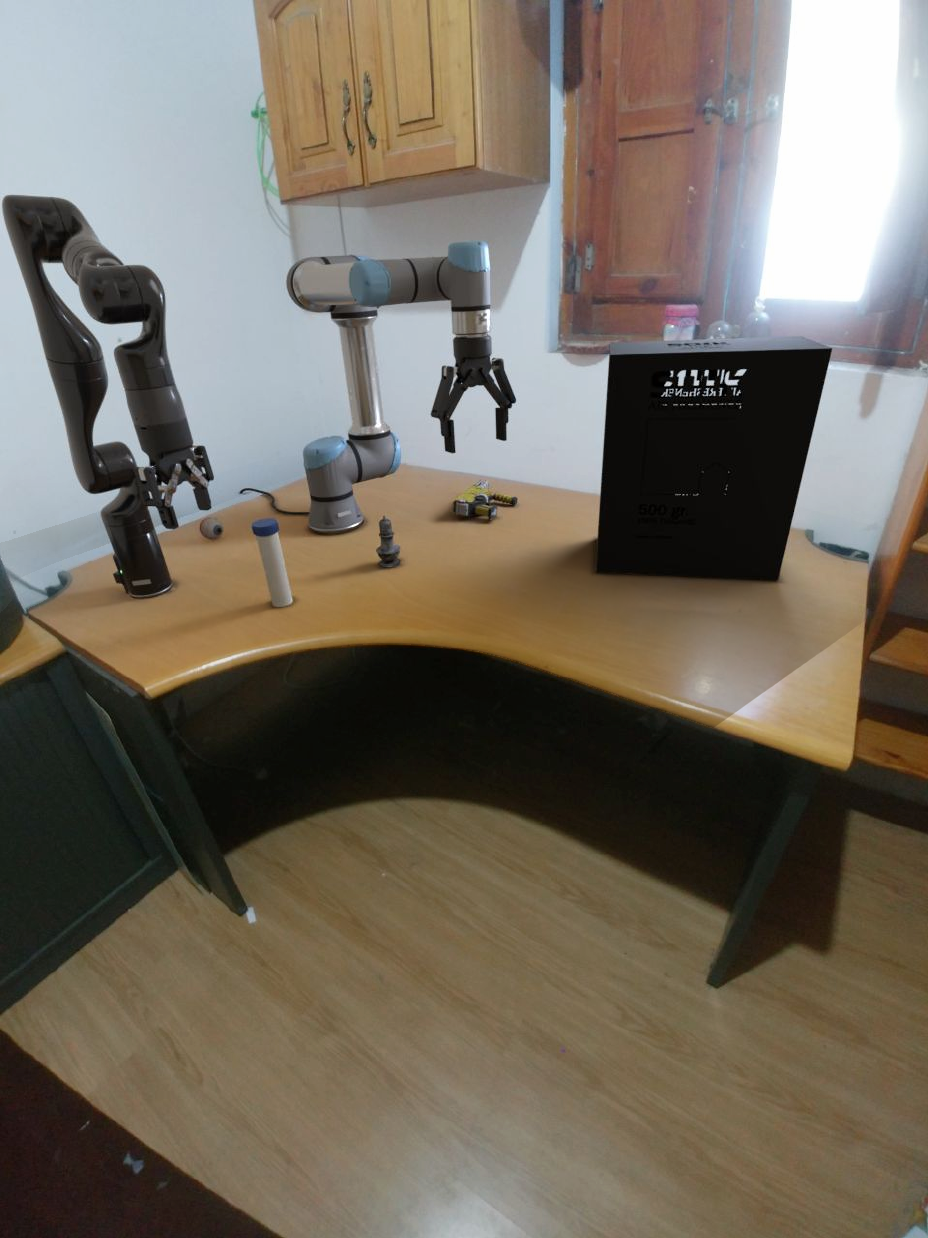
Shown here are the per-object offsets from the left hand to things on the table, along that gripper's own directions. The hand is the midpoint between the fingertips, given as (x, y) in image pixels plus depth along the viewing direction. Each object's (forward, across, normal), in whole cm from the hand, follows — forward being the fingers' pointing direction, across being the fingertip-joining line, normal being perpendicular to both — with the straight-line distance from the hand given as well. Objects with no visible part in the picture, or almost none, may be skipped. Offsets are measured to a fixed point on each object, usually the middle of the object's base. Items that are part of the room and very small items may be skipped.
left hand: (189, 518), depth 100 cm
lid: (+9, -21, -1) cm, 23 cm away
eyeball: (+27, -51, -39) cm, 69 cm away
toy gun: (+27, -85, +30) cm, 94 cm away
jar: (+27, -21, -1) cm, 34 cm away
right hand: (-1, -46, +37) cm, 59 cm away
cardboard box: (+27, -57, +82) cm, 104 cm away
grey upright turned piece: (+27, -44, +15) cm, 53 cm away
